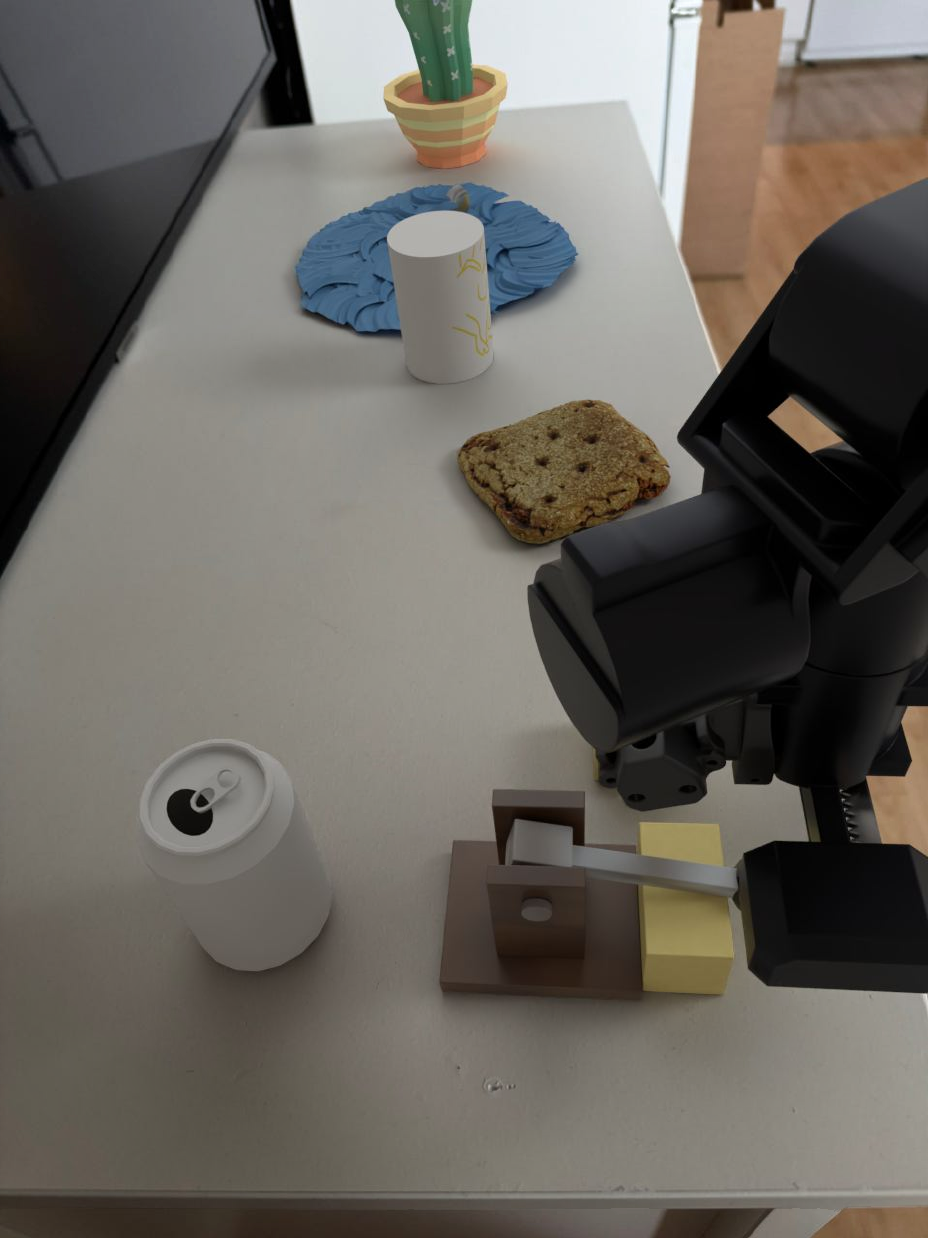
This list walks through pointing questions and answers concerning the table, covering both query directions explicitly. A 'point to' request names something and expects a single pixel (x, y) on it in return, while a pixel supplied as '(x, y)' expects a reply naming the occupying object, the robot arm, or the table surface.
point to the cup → (442, 295)
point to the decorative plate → (361, 269)
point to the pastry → (563, 470)
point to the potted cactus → (444, 86)
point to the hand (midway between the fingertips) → (772, 847)
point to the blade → (615, 862)
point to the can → (234, 853)
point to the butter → (683, 916)
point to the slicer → (538, 914)
